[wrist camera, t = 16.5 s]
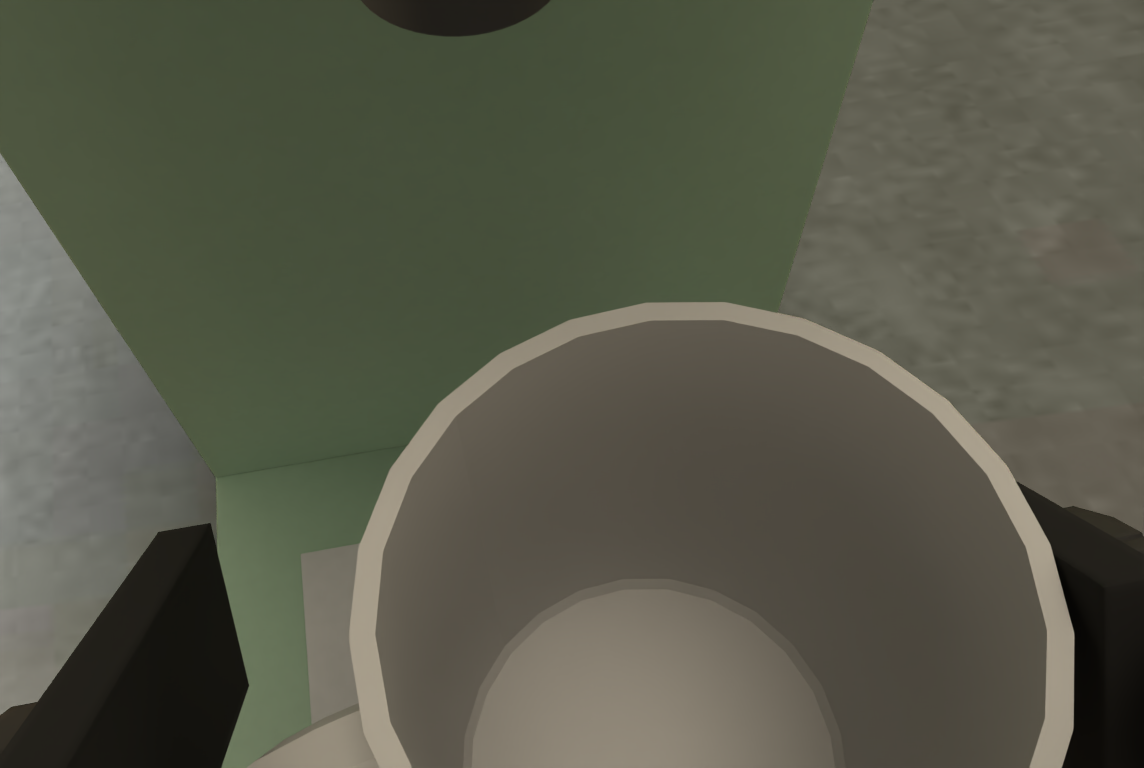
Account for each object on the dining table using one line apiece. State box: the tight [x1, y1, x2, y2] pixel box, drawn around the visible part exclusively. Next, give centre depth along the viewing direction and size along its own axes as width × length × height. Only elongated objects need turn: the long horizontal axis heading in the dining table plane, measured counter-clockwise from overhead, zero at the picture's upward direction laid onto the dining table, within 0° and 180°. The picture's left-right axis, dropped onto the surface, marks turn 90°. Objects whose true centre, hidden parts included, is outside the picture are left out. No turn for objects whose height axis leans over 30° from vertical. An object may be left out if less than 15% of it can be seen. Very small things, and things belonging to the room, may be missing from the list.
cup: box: [247, 302, 1074, 768], centre depth 14 cm, size 7×10×9 cm
